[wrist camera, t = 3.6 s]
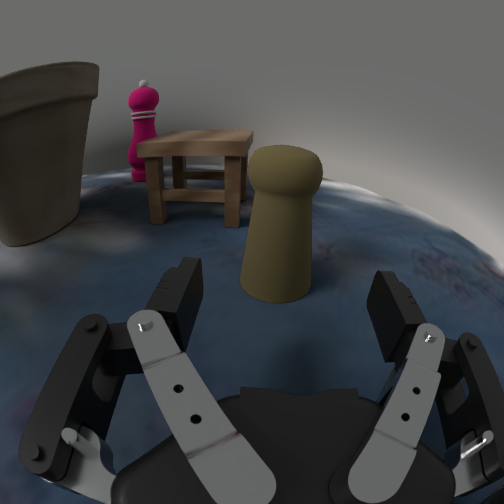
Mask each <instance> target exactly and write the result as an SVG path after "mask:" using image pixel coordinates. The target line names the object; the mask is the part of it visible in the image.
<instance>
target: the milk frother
mask: <svg viewBox="0 0 504 504" xmlns="http://www.w3.org/2000/svg"><path fill="white" fill-rule="evenodd" d="M483 504H504V489H502V490H499V491H498V492H496V493H495V494H493V495H492V496H490V497H489V498H488V499H487V500H486V501H485V502H484V503H483Z"/></svg>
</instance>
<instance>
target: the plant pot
mask: <svg viewBox="0 0 504 504" xmlns="http://www.w3.org/2000/svg"><path fill="white" fill-rule="evenodd" d="M98 81H99V66H98V65H96V64H94V63H89V62H76V61H74V62H59V63H51V64H45V65H39V66H34V67H30V68H26V69H22V70H18V71H15V72H12V73H9V74H6V75H3V76H1V77H0V240H1V241H2V243H3V244H5V245H7V246H21V245H26V244H30V243H33V242H36V241H38V240H41V239H43V238H46V237H48V236H50V235H52V234H54V233H55V232H57V231H59V230H60V229H62V228H63V227H65V226H66V225H68V224H69V223H70V222H71V221H72V220H73V219H74V218H75V217H76V216H77V214H78V212H79V206H80V193H81V178H82V166H83V157H84V149H85V142H86V134H87V128H88V121H89V115H90V109H91V104H92V100H93V99H95V98H96V97H97V96H98Z"/></svg>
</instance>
